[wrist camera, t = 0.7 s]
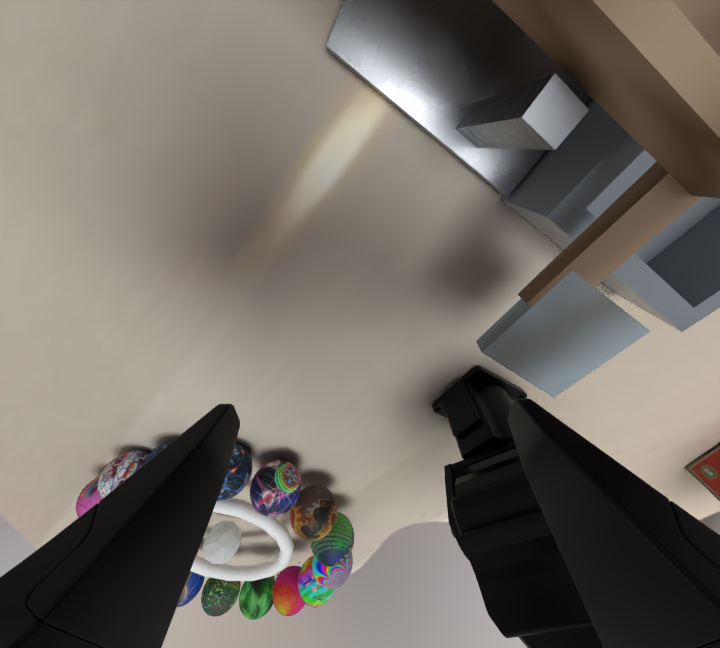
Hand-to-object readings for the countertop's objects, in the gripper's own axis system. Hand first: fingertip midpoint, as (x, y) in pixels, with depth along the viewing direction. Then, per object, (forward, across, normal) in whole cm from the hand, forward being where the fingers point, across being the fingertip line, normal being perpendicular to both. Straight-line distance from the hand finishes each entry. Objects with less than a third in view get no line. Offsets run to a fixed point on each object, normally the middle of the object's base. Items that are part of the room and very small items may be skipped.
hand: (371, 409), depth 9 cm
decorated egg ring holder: (+14, +20, +35) cm, 42 cm away
